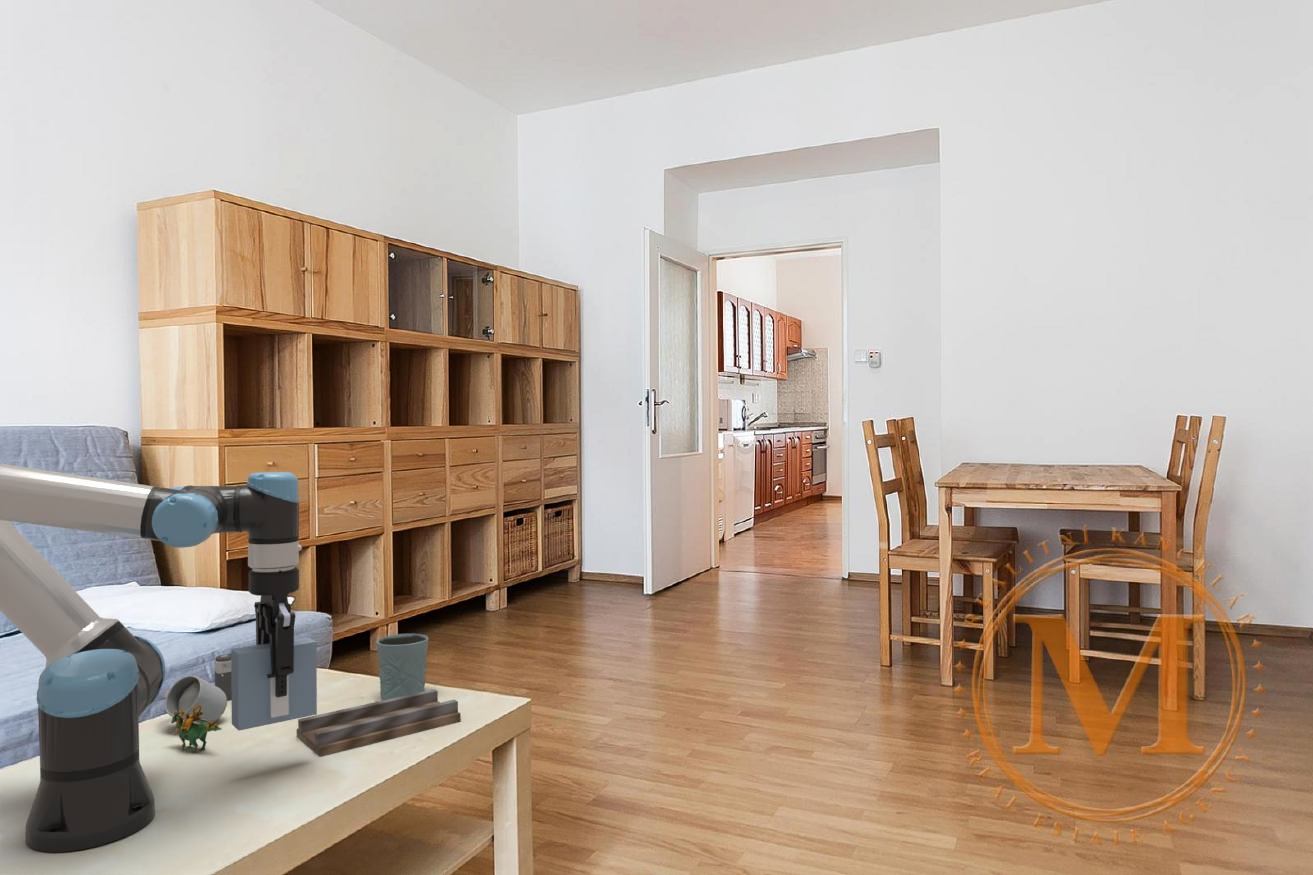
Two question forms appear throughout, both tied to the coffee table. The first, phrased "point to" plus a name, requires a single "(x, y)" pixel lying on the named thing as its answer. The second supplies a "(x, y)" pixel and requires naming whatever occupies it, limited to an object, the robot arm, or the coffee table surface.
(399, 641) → the grey green cup
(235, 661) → the door panel
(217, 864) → the coffee table surface
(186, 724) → the figurine
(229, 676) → the camera
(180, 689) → the ceramic mug
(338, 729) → the door track
